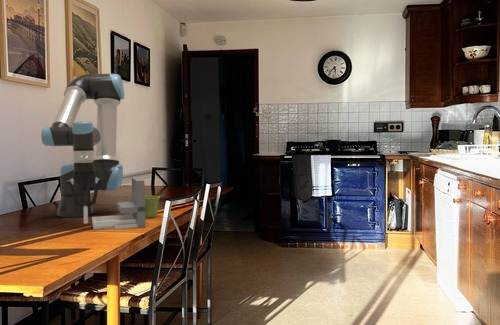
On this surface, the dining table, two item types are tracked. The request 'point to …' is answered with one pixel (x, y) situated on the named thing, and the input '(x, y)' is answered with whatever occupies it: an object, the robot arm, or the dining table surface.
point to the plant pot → (151, 206)
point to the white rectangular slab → (112, 221)
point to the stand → (134, 205)
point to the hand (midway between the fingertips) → (85, 222)
